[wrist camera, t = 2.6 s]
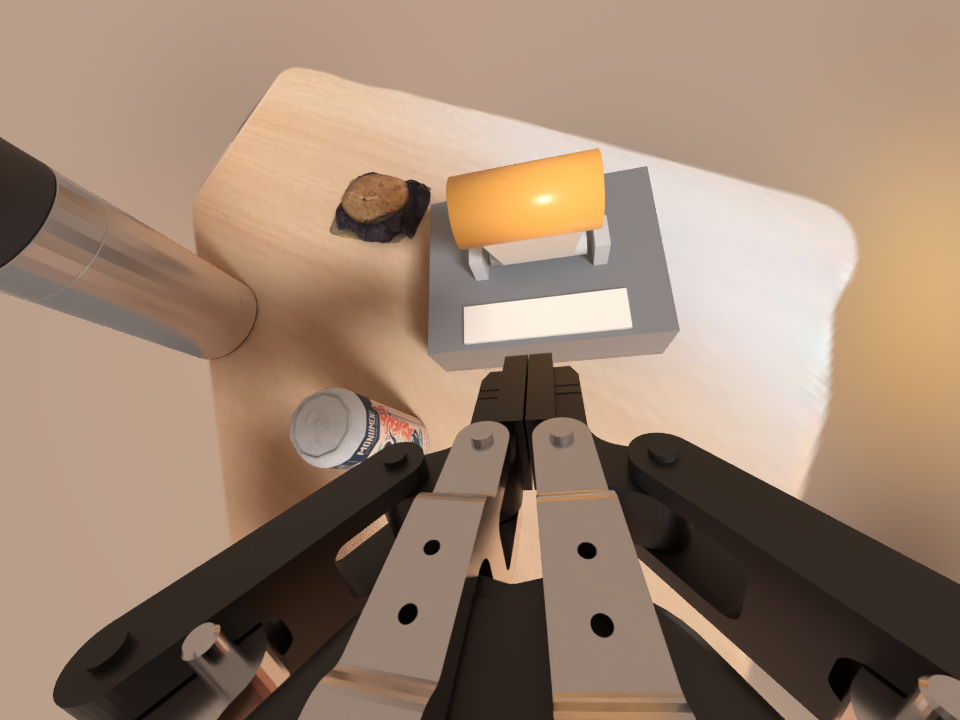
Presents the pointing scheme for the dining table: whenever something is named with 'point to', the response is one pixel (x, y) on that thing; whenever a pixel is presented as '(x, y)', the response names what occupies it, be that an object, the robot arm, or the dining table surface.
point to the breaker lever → (529, 208)
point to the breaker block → (556, 291)
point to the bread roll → (381, 209)
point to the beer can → (349, 428)
